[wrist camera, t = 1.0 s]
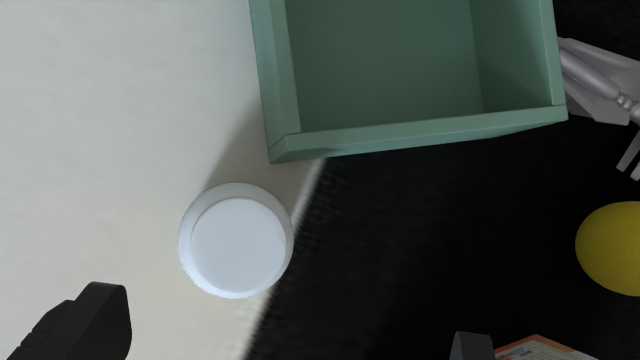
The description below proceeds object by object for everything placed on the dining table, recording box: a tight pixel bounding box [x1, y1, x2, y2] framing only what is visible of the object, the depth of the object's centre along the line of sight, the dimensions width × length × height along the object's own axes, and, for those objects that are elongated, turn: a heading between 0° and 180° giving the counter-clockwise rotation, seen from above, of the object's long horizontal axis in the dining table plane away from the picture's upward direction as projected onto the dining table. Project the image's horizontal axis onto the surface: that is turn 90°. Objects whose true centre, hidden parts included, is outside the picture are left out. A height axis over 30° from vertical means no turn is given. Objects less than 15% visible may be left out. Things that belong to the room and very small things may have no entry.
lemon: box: [575, 201, 640, 296], centre depth 32 cm, size 6×6×8 cm
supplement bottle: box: [177, 182, 294, 299], centre depth 27 cm, size 5×5×10 cm
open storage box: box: [249, 0, 568, 164], centre depth 30 cm, size 15×15×8 cm
